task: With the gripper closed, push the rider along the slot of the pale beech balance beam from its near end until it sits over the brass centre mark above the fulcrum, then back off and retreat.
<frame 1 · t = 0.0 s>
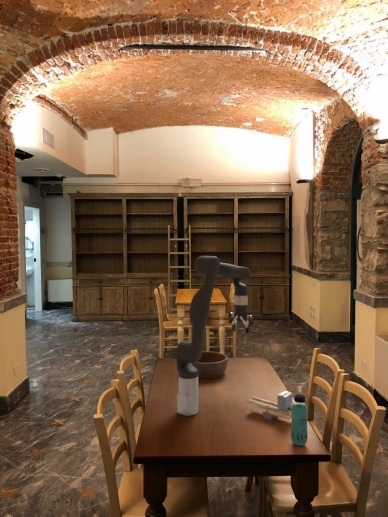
hand: (240, 332, 230), 29 cm above the table, fingers open, 8 cm apart
rider: (284, 402, 186), point 9 cm above the table, slide at 0.0 cm
beam: (270, 417, 191), on the table
beverage bottle: (299, 445, 166), on the table
wooden bowl: (206, 374, 250), on the table
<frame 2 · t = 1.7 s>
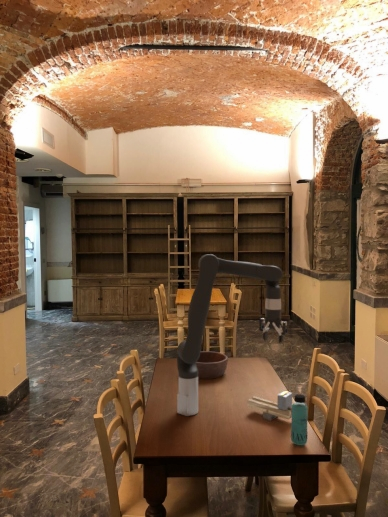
hand: (273, 341, 201), 32 cm above the table, fingers open, 7 cm apart
nothing on the table moved.
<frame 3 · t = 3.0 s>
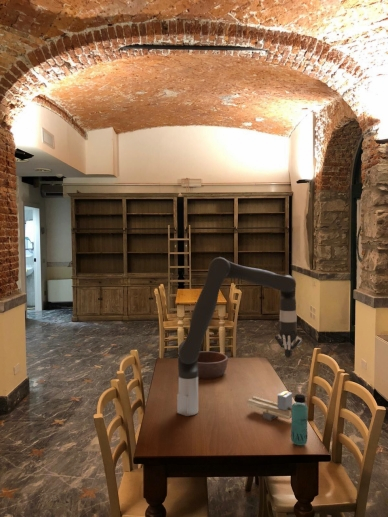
hand: (288, 357, 190), 27 cm above the table, fingers closed
nothing on the table moved.
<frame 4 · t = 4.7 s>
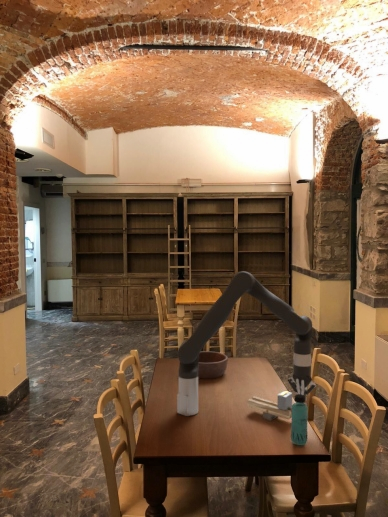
hand: (301, 402, 181), 11 cm above the table, fingers closed
nothing on the table moved.
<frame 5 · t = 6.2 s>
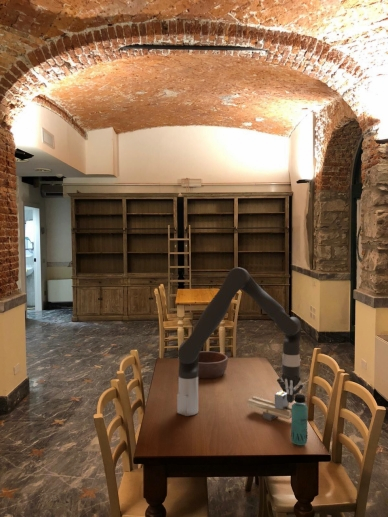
hand: (290, 402, 184), 10 cm above the table, fingers closed
rider: (281, 401, 187), point 9 cm above the table, slide at 1.4 cm, touching gripper
everything else where it was.
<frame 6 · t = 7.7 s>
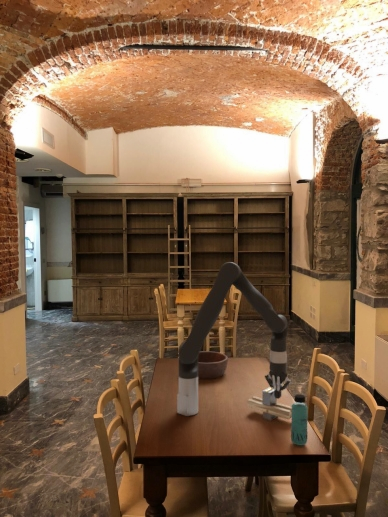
hand: (277, 397, 188), 10 cm above the table, fingers closed
rider: (269, 397, 191), point 9 cm above the table, slide at 7.6 cm, touching gripper
everything else where it was.
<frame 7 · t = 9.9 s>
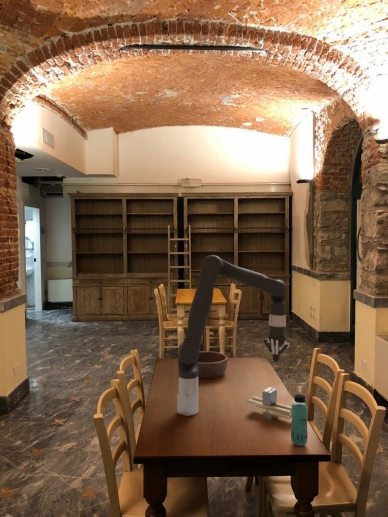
hand: (276, 361, 190), 25 cm above the table, fingers closed
rider: (269, 397, 191), point 9 cm above the table, slide at 7.6 cm
everything else where it was.
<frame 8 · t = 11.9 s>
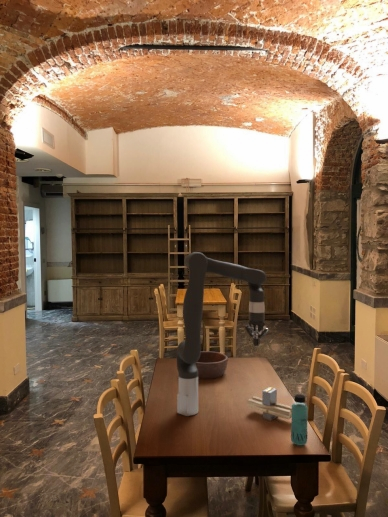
hand: (256, 345, 204), 29 cm above the table, fingers closed
nothing on the table moved.
at the end: rider slide at 7.6 cm; rider moved 7.6 cm from its start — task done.
